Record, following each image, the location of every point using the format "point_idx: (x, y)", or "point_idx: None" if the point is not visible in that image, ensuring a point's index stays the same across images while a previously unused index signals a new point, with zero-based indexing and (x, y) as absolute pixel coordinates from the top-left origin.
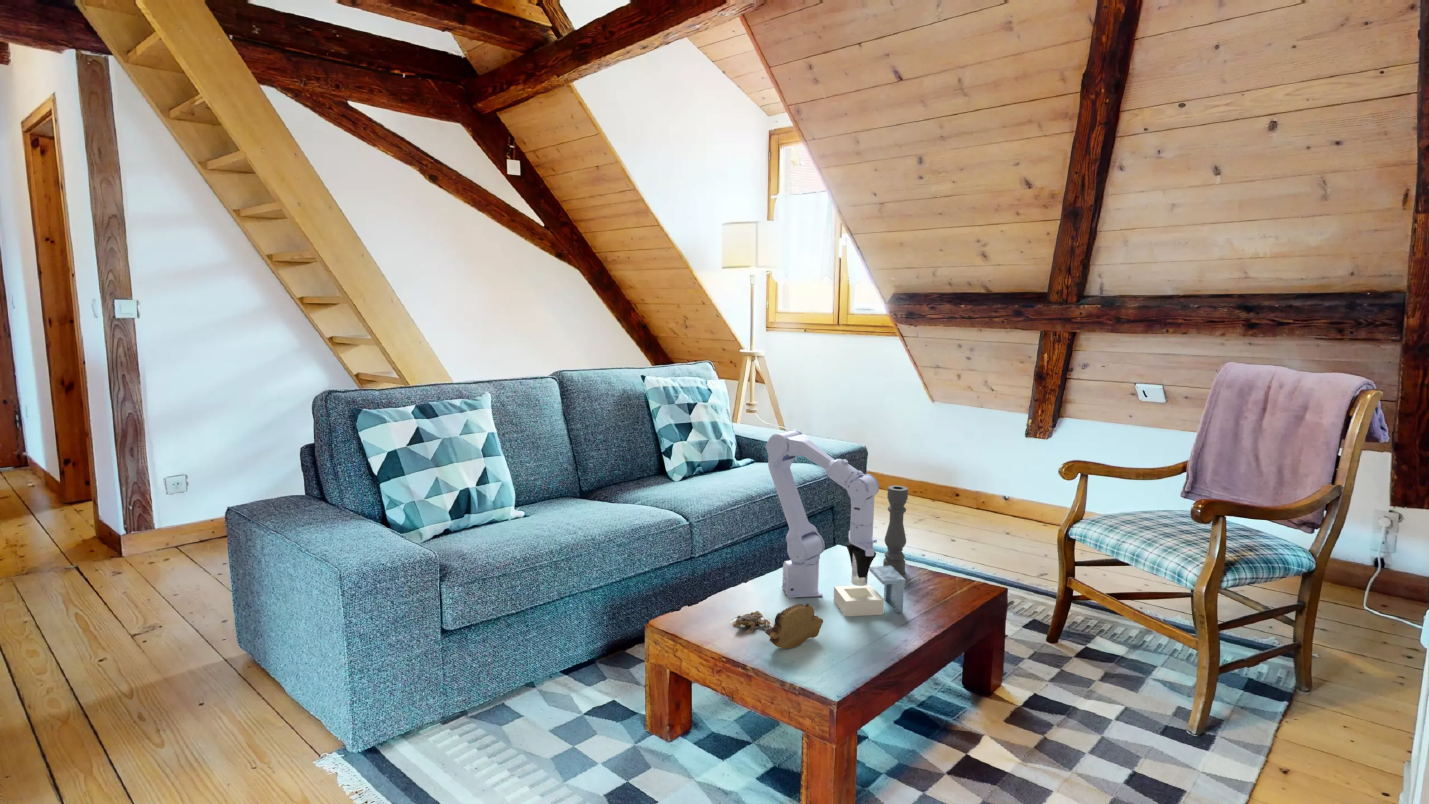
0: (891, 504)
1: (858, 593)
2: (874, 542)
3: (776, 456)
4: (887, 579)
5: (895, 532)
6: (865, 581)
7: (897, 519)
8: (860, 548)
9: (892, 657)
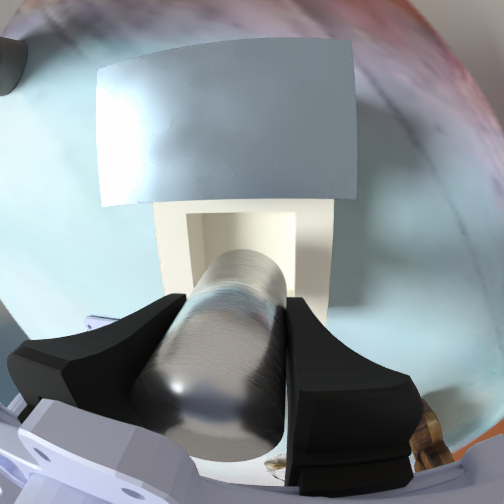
0: None
1: (196, 239)
2: (195, 473)
3: None
4: (339, 158)
5: None
6: (281, 279)
7: None
8: (113, 405)
9: None
